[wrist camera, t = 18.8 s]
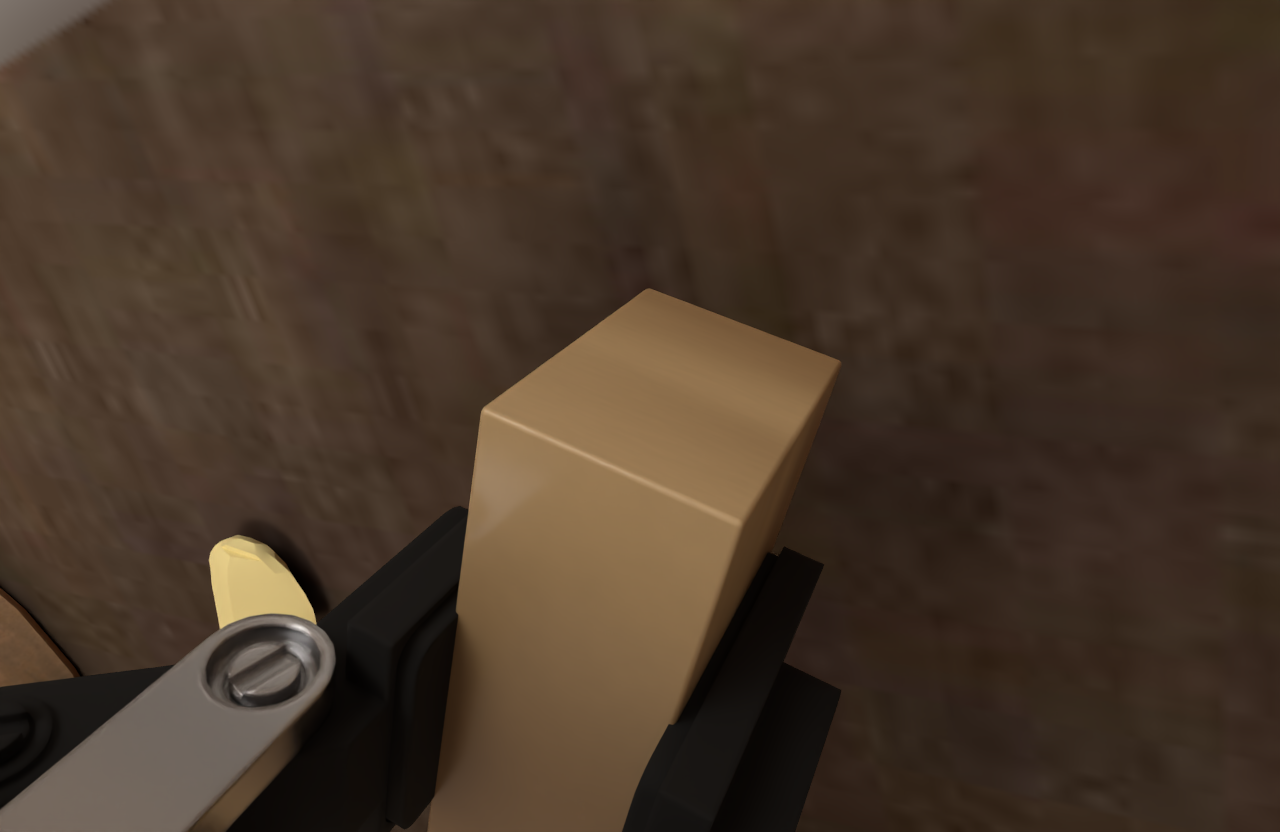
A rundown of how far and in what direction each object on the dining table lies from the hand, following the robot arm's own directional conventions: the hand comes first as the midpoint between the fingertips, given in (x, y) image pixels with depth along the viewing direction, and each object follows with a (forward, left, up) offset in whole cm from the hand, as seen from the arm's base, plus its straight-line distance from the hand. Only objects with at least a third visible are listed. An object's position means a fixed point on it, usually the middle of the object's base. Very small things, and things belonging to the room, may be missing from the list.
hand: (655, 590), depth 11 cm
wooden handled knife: (+5, 0, 0) cm, 5 cm away
